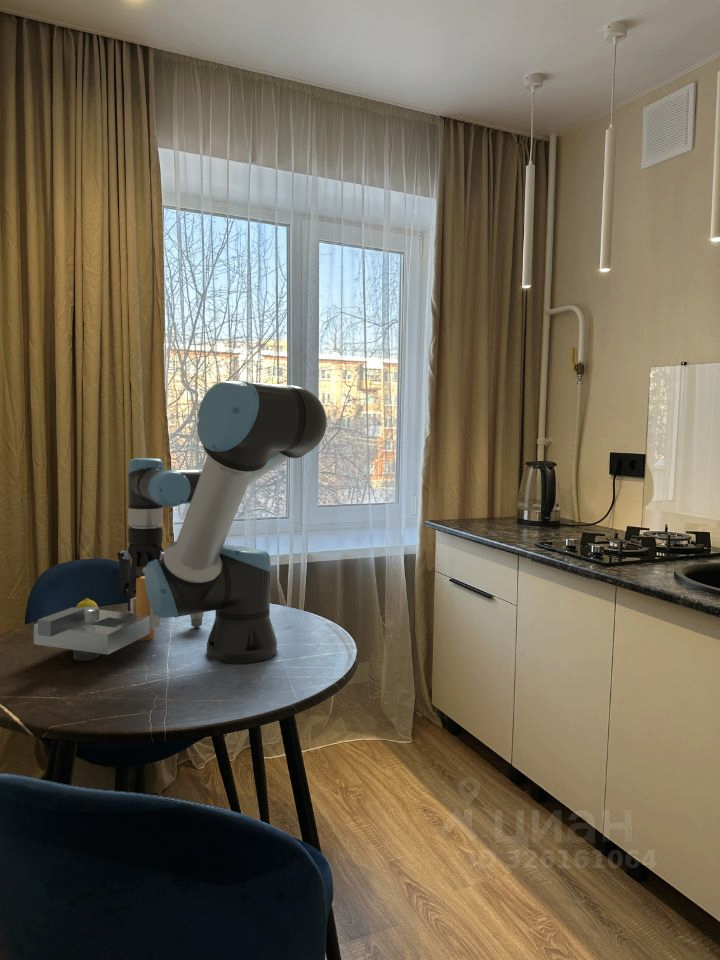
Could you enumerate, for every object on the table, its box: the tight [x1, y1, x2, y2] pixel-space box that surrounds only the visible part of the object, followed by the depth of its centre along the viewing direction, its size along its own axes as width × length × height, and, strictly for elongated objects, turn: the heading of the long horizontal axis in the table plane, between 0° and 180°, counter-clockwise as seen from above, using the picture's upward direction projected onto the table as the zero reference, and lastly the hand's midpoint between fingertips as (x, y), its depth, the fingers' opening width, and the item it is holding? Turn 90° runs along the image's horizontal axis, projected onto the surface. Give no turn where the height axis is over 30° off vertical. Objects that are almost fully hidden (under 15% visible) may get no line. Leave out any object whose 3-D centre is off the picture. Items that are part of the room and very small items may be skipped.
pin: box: [136, 575, 155, 642], centre depth 151 cm, size 4×4×14 cm
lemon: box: [75, 597, 99, 608], centre depth 154 cm, size 6×6×8 cm
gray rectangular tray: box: [33, 607, 150, 662], centre depth 135 cm, size 18×19×11 cm
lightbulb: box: [189, 612, 205, 629], centre depth 160 cm, size 6×6×11 cm
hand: (145, 626), depth 151 cm, fingers open, 4 cm apart
